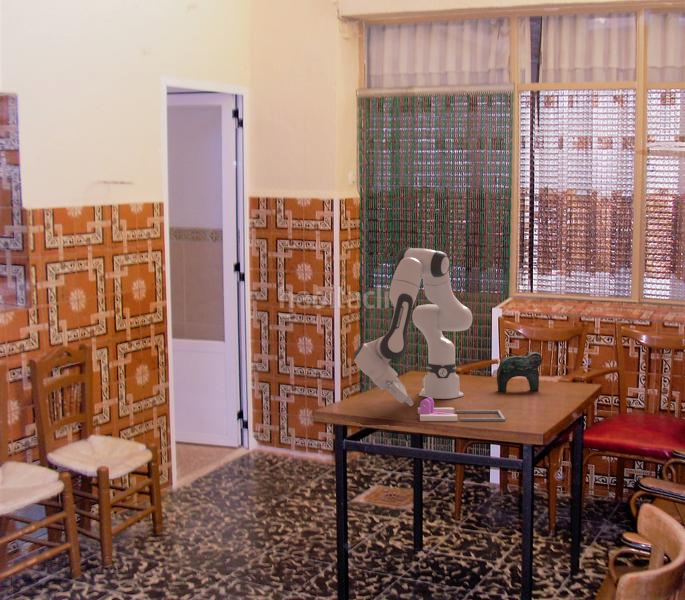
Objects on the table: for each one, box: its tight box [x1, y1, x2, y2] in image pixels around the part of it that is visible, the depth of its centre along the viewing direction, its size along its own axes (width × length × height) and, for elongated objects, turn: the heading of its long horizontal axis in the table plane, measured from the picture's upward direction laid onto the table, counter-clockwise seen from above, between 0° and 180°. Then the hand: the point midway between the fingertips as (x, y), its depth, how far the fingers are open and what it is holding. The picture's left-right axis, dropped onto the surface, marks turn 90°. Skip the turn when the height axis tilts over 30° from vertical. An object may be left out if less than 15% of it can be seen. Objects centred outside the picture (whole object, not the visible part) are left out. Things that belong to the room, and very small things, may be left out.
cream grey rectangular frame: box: [417, 406, 506, 422], centre depth 376 cm, size 15×32×2 cm, turn 89°
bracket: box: [419, 397, 453, 415], centre depth 376 cm, size 13×6×7 cm, turn 67°
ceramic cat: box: [496, 344, 543, 393], centre depth 427 cm, size 20×6×20 cm, turn 97°
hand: (412, 404), depth 376 cm, fingers closed
